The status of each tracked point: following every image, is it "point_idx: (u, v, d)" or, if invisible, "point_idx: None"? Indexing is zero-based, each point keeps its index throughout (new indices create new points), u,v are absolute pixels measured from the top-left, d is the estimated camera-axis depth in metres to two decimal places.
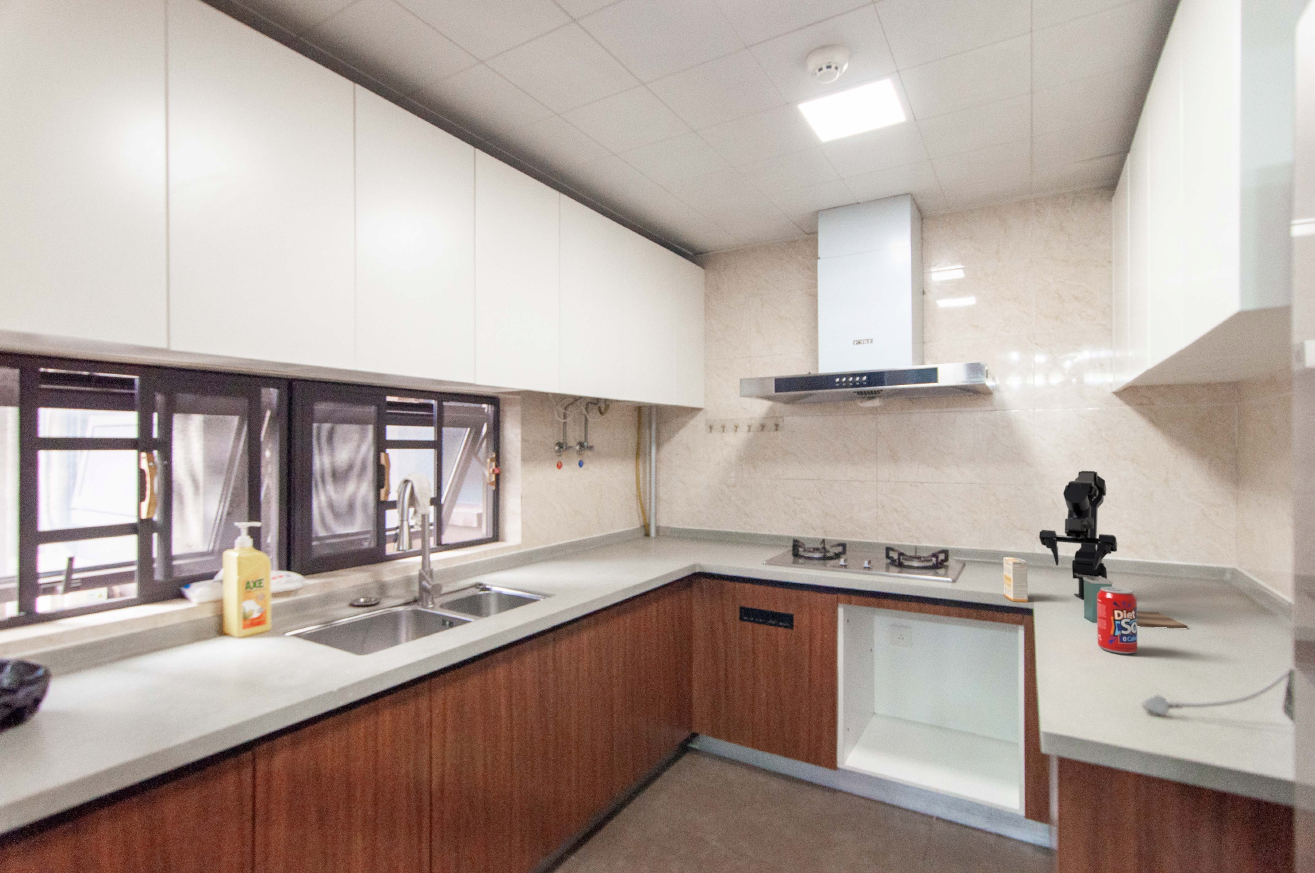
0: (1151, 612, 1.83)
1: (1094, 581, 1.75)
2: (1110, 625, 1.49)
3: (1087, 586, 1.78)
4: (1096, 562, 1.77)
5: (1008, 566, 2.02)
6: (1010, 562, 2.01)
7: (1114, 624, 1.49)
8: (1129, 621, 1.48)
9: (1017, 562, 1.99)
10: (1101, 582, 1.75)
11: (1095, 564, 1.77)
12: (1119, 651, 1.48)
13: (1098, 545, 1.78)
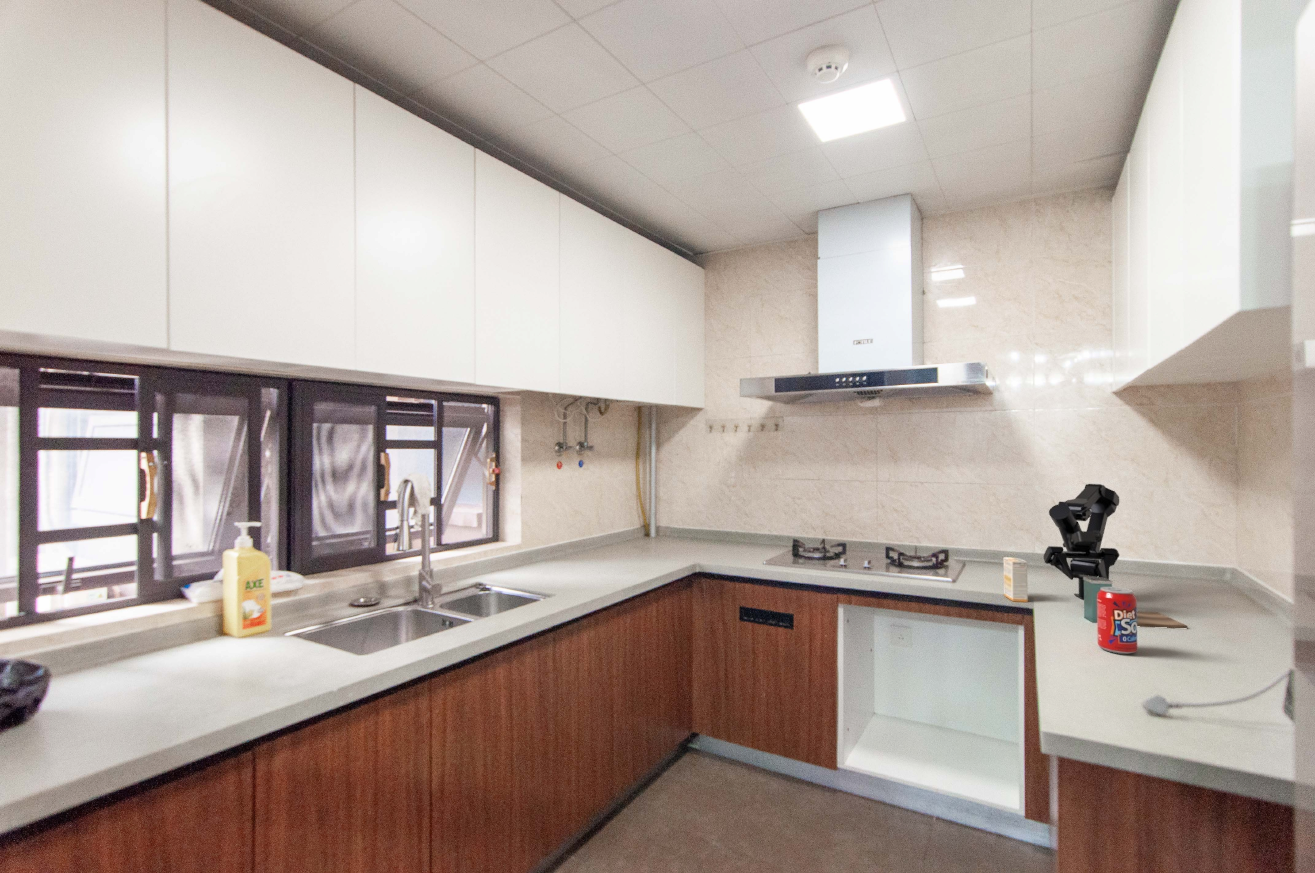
0: (1151, 612, 1.83)
1: (1094, 581, 1.75)
2: (1110, 625, 1.49)
3: (1087, 586, 1.78)
4: (1108, 574, 1.81)
5: (1008, 566, 2.02)
6: (1010, 562, 2.01)
7: (1114, 624, 1.49)
8: (1129, 621, 1.48)
9: (1017, 562, 1.99)
10: (1101, 582, 1.75)
11: (1107, 575, 1.81)
12: (1119, 651, 1.48)
13: (1106, 557, 1.83)
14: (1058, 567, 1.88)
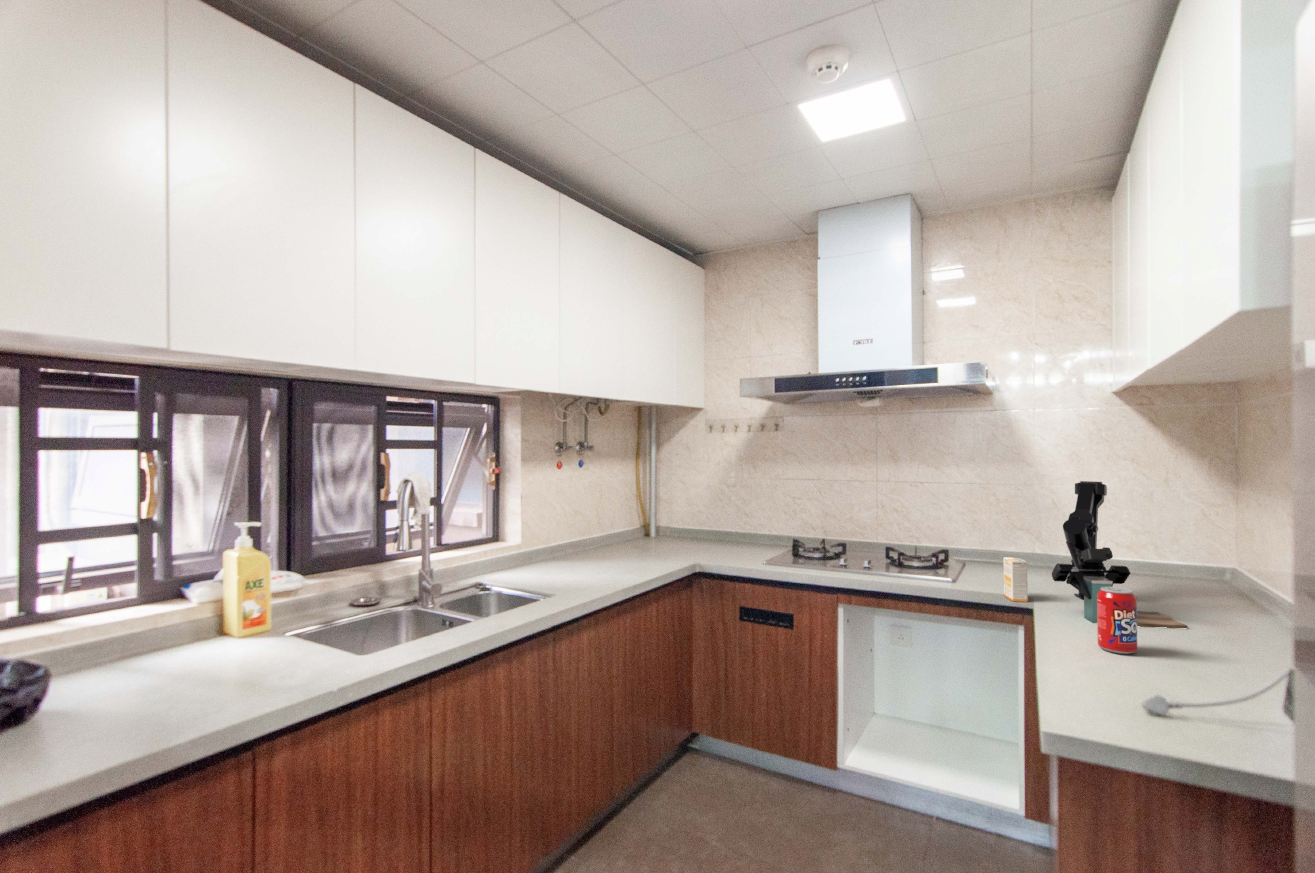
0: (1151, 612, 1.83)
1: (1094, 581, 1.75)
2: (1110, 625, 1.49)
3: (1087, 586, 1.78)
4: None
5: (1008, 566, 2.02)
6: (1010, 562, 2.01)
7: (1114, 624, 1.49)
8: (1129, 621, 1.48)
9: (1017, 562, 1.99)
10: (1101, 582, 1.75)
11: None
12: (1119, 651, 1.48)
13: (1109, 575, 1.78)
14: (1074, 585, 1.82)
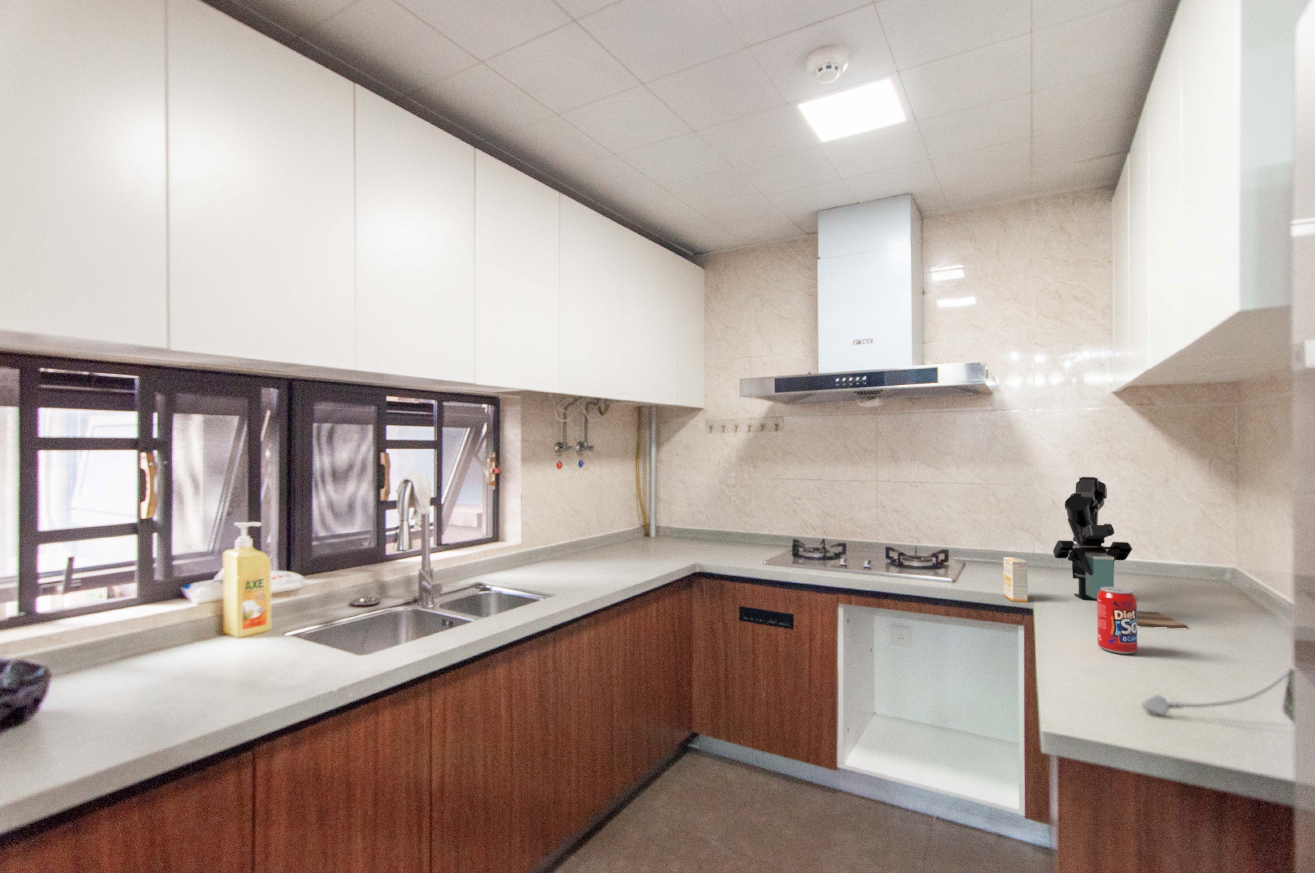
0: (1151, 612, 1.83)
1: (1096, 557, 1.76)
2: (1110, 625, 1.49)
3: (1089, 562, 1.78)
4: None
5: (1008, 566, 2.02)
6: (1010, 562, 2.01)
7: (1114, 624, 1.49)
8: (1129, 621, 1.48)
9: (1017, 562, 1.99)
10: (1103, 558, 1.75)
11: None
12: (1119, 651, 1.48)
13: (1110, 551, 1.78)
14: (1076, 562, 1.82)
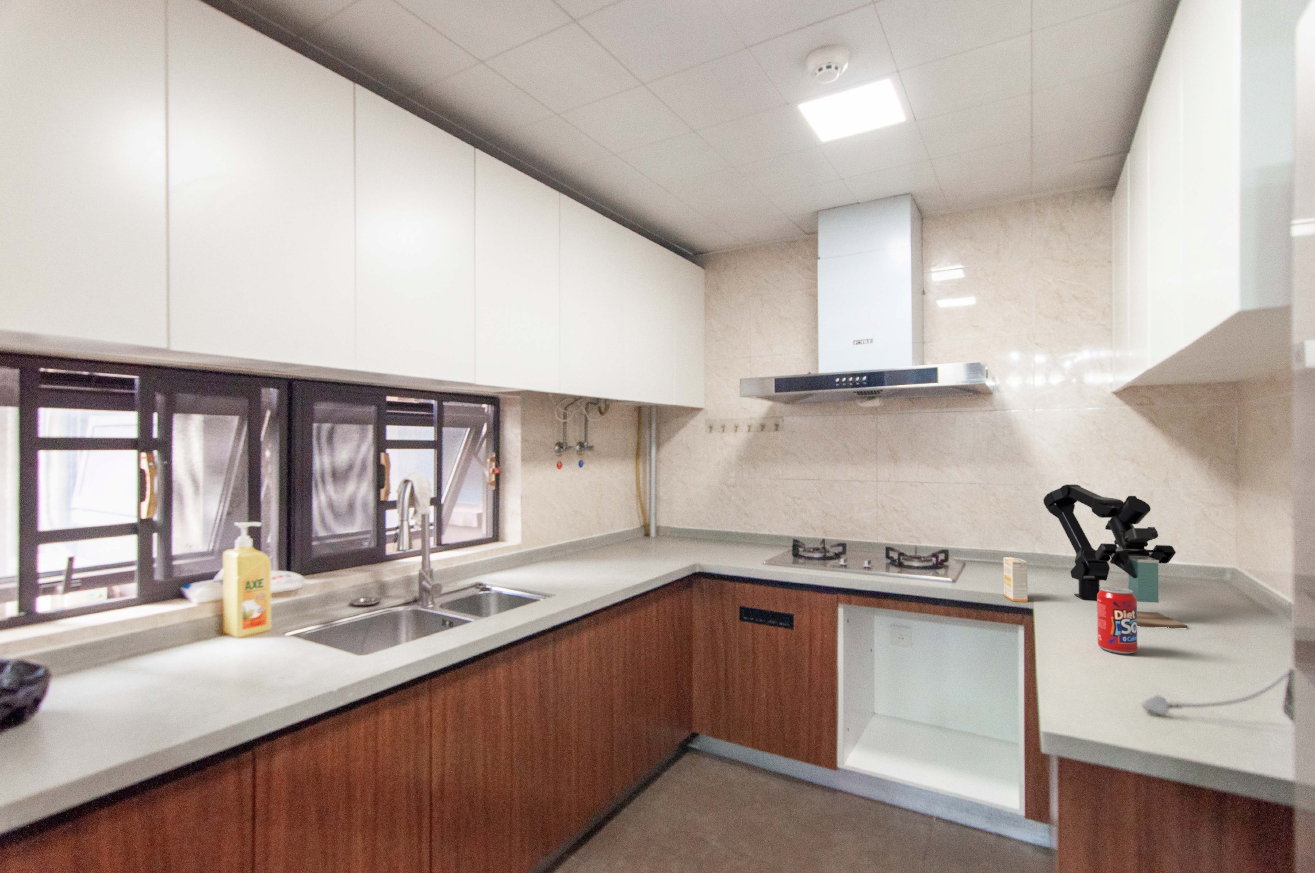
0: (1151, 612, 1.83)
1: (1140, 560, 1.76)
2: (1110, 625, 1.49)
3: (1133, 565, 1.78)
4: None
5: (1008, 566, 2.02)
6: (1010, 562, 2.01)
7: (1114, 624, 1.49)
8: (1129, 621, 1.48)
9: (1017, 562, 1.99)
10: (1147, 561, 1.75)
11: None
12: (1119, 651, 1.48)
13: (1154, 554, 1.78)
14: (1119, 565, 1.82)
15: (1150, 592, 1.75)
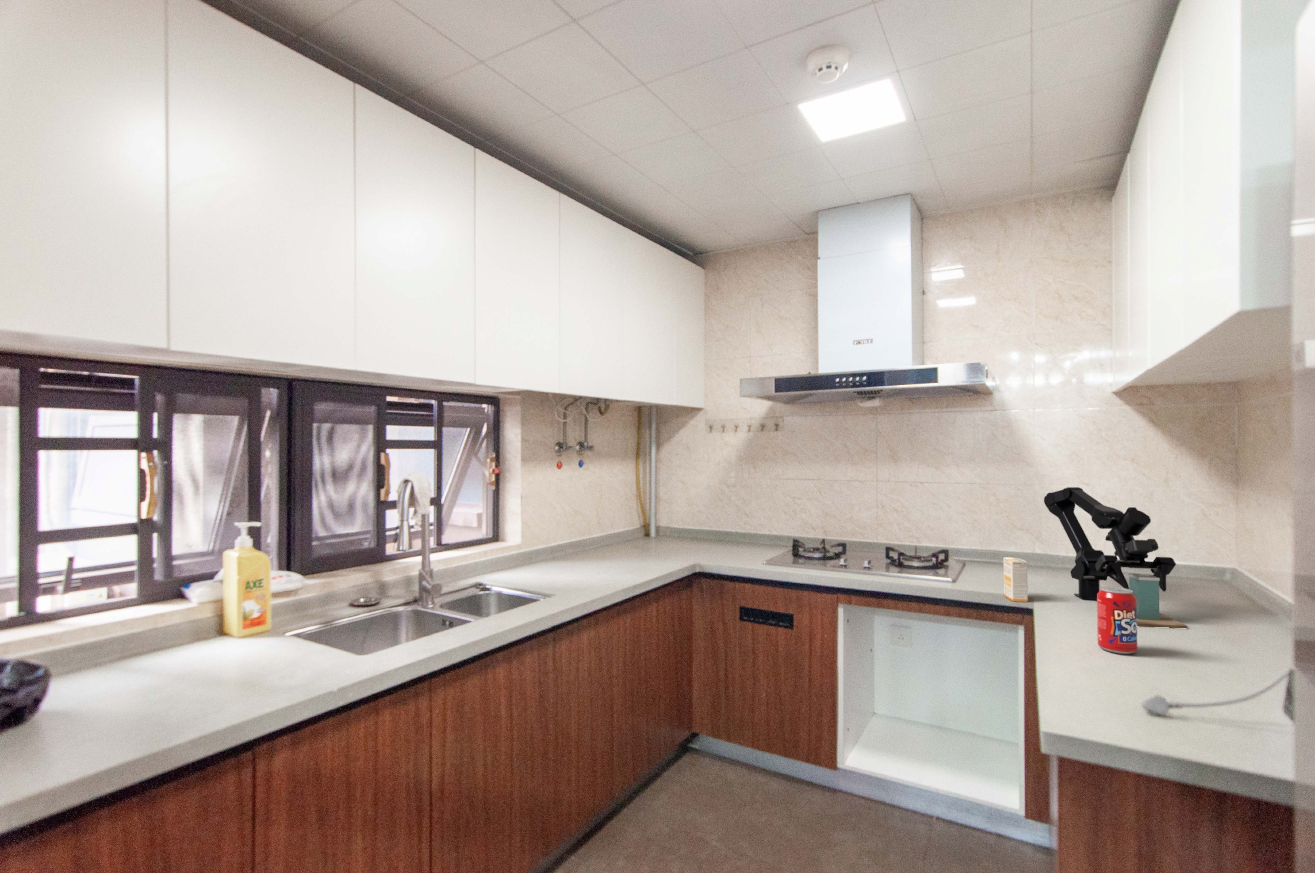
0: None
1: (1141, 578, 1.76)
2: (1110, 625, 1.49)
3: (1133, 582, 1.78)
4: (1164, 583, 1.76)
5: (1008, 566, 2.02)
6: (1010, 562, 2.01)
7: (1114, 624, 1.49)
8: (1129, 621, 1.48)
9: (1017, 562, 1.99)
10: (1148, 579, 1.75)
11: (1164, 585, 1.76)
12: (1119, 651, 1.48)
13: (1162, 567, 1.78)
14: (1111, 576, 1.83)
15: (1151, 610, 1.75)
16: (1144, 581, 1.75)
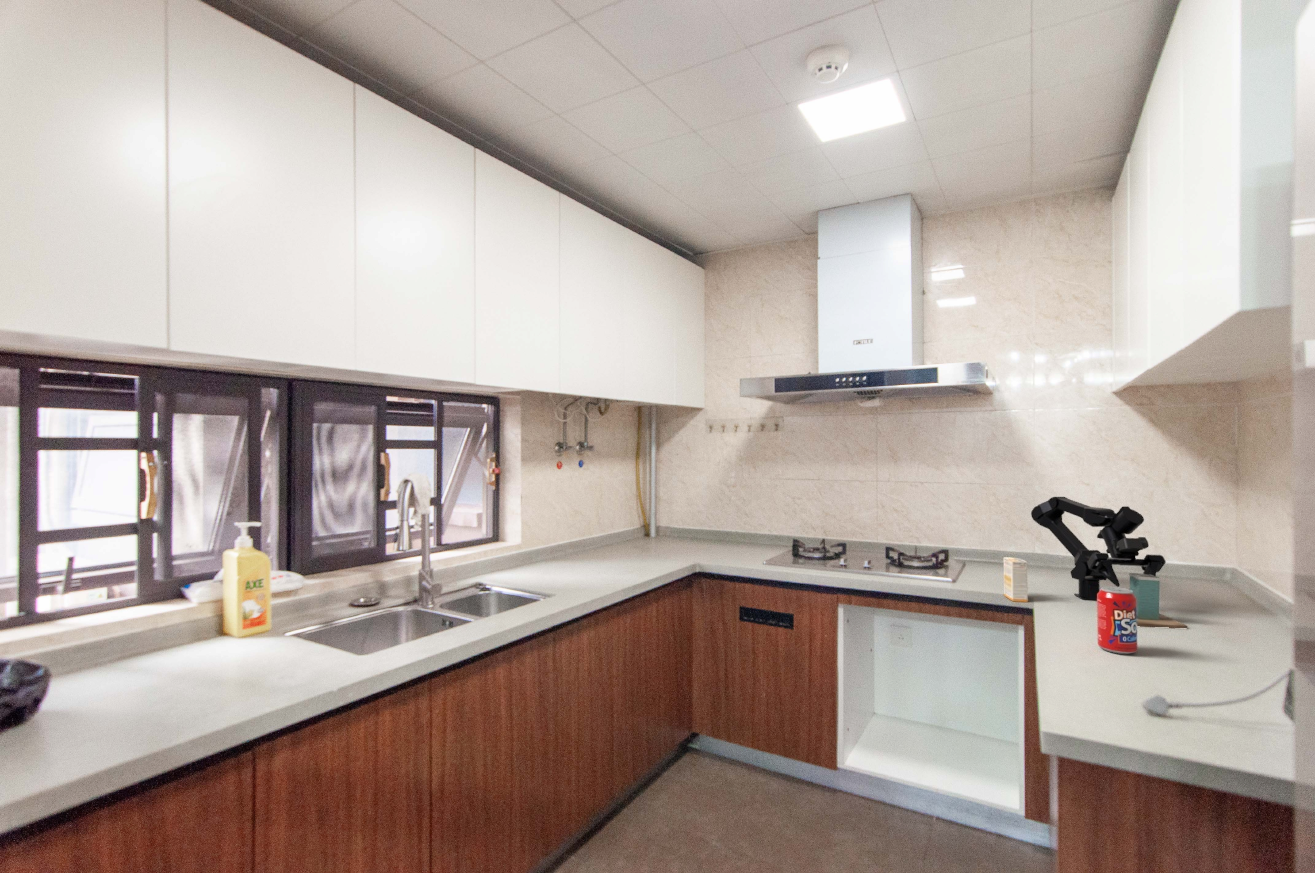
0: None
1: (1141, 577, 1.76)
2: (1110, 625, 1.49)
3: (1134, 582, 1.78)
4: None
5: (1008, 566, 2.02)
6: (1010, 562, 2.01)
7: (1114, 624, 1.49)
8: (1129, 621, 1.48)
9: (1017, 562, 1.99)
10: (1149, 578, 1.75)
11: None
12: (1119, 651, 1.48)
13: (1152, 564, 1.83)
14: (1103, 574, 1.87)
15: (1151, 609, 1.75)
16: (1144, 581, 1.75)
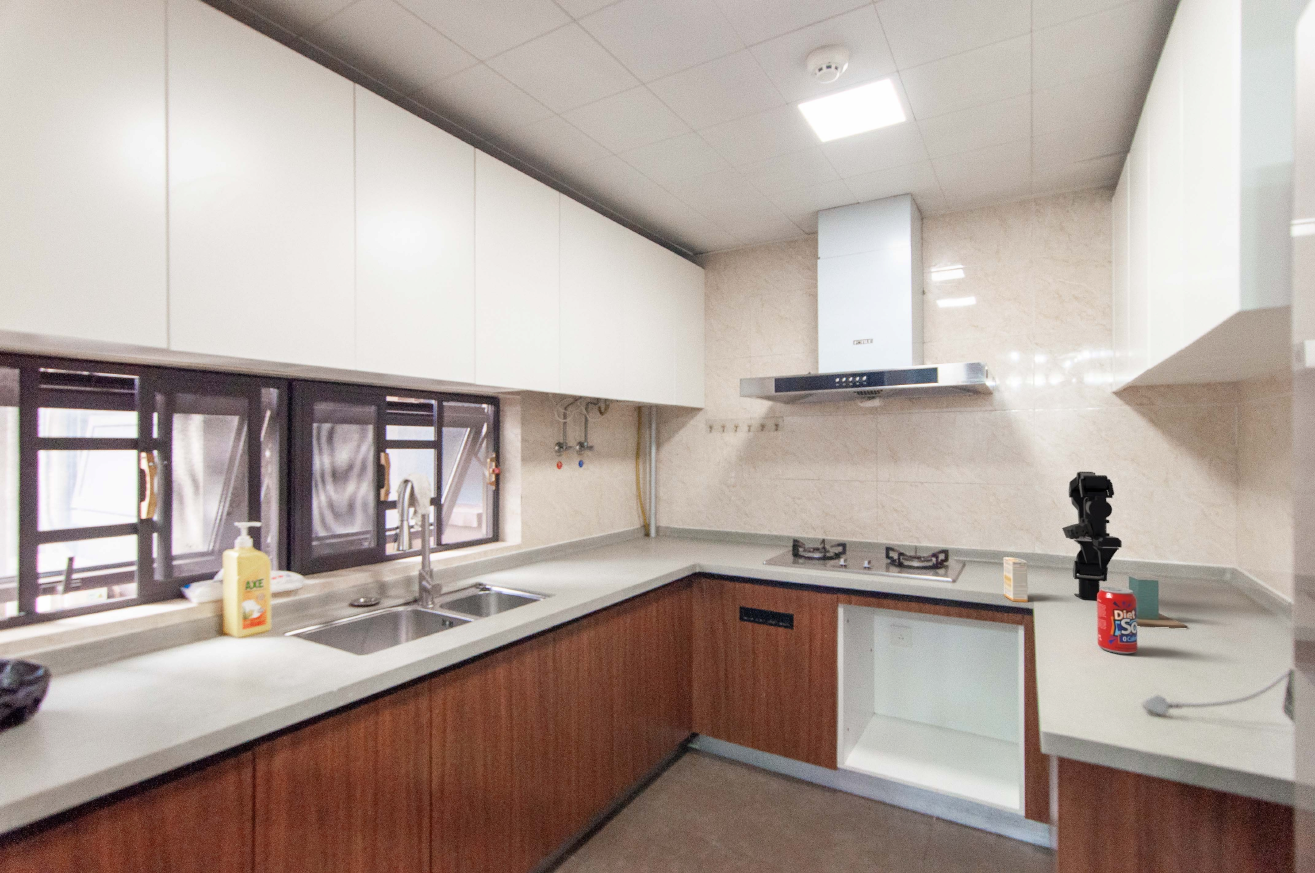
0: None
1: (1140, 577, 1.76)
2: (1110, 625, 1.49)
3: (1133, 582, 1.79)
4: (1100, 563, 1.86)
5: (1008, 566, 2.02)
6: (1010, 562, 2.01)
7: (1114, 624, 1.49)
8: (1129, 621, 1.48)
9: (1017, 562, 1.99)
10: (1148, 578, 1.75)
11: (1100, 565, 1.86)
12: (1119, 651, 1.48)
13: (1094, 548, 1.86)
14: None
15: (1150, 609, 1.75)
16: (1144, 581, 1.76)
